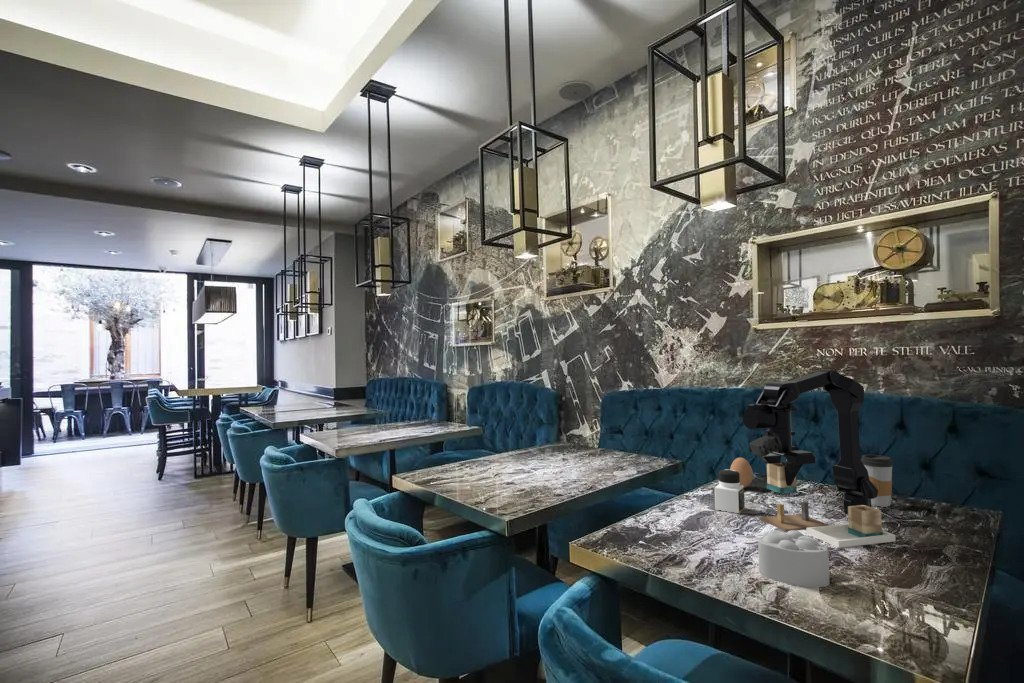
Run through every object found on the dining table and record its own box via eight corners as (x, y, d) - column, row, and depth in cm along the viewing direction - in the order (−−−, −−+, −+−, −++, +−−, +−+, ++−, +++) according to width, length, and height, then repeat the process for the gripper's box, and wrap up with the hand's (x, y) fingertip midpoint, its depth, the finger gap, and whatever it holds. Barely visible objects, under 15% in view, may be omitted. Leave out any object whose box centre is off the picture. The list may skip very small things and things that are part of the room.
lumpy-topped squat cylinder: (767, 560, 116) (766, 523, 116) (833, 575, 107) (831, 535, 108) (755, 575, 108) (754, 535, 108) (825, 593, 99) (823, 550, 100)
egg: (736, 483, 183) (735, 454, 184) (757, 487, 178) (756, 457, 178) (726, 487, 178) (725, 457, 179) (747, 491, 173) (746, 460, 173)
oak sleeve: (782, 487, 141) (781, 462, 141) (796, 491, 136) (795, 466, 136) (766, 488, 140) (766, 463, 140) (780, 493, 135) (779, 467, 135)
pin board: (801, 517, 145) (800, 496, 145) (829, 528, 135) (828, 506, 136) (759, 521, 142) (758, 500, 143) (785, 533, 133) (784, 510, 133)
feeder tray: (860, 530, 134) (859, 522, 134) (895, 543, 124) (895, 535, 124) (806, 535, 130) (806, 527, 131) (838, 550, 121) (838, 541, 121)
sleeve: (864, 531, 131) (863, 504, 132) (882, 538, 126) (881, 510, 126) (848, 532, 130) (847, 506, 131) (866, 539, 125) (864, 512, 125)
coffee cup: (856, 503, 158) (854, 456, 158) (871, 499, 161) (869, 453, 162) (884, 510, 150) (882, 460, 151) (900, 506, 154) (898, 458, 154)
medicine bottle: (739, 514, 149) (738, 474, 149) (714, 510, 153) (713, 471, 154) (744, 508, 155) (743, 469, 155) (721, 504, 159) (719, 467, 159)
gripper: (732, 424, 146) (734, 477, 145) (780, 433, 128) (782, 494, 127) (765, 422, 148) (767, 474, 148) (816, 431, 130) (818, 491, 129)
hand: (781, 483), depth 138 cm, fingers closed on oak sleeve, 5 cm apart
